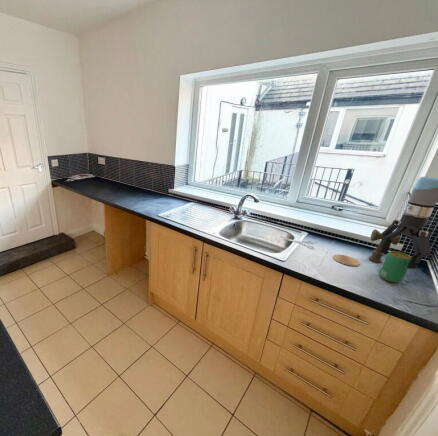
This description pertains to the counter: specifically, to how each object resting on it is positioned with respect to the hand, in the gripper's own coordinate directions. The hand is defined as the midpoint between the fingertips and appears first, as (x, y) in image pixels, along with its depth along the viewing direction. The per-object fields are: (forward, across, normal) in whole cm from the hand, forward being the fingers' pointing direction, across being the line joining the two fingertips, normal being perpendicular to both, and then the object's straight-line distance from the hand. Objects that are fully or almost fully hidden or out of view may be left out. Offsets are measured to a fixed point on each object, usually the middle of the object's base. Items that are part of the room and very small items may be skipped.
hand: (396, 259), depth 108 cm
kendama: (+10, -16, +6) cm, 20 cm away
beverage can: (+9, 0, 0) cm, 9 cm away
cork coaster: (+10, -15, -9) cm, 20 cm away
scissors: (+9, -34, -24) cm, 42 cm away
